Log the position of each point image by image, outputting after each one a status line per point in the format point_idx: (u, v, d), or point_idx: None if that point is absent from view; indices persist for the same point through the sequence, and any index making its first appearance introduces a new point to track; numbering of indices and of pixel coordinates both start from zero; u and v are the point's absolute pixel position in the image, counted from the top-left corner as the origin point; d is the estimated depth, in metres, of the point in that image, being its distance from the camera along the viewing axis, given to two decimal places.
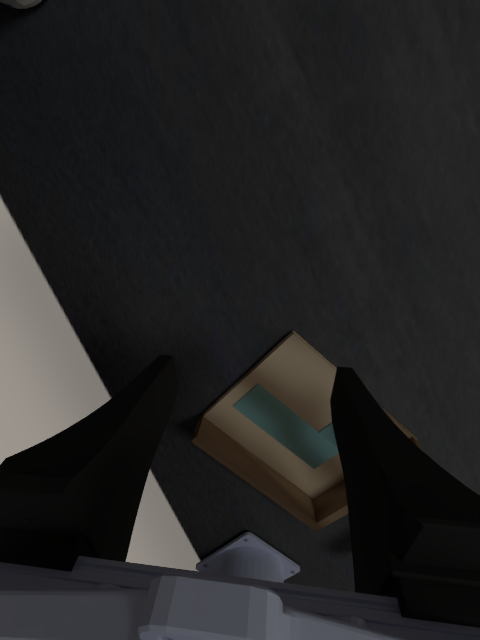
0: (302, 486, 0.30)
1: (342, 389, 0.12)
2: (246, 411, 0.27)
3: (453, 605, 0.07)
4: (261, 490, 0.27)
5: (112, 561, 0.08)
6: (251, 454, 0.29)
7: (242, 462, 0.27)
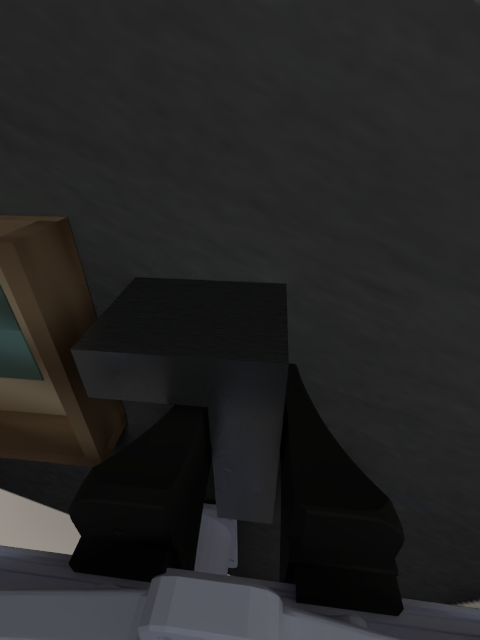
0: None
1: None
2: None
3: (342, 591, 0.07)
4: None
5: None
6: None
7: None
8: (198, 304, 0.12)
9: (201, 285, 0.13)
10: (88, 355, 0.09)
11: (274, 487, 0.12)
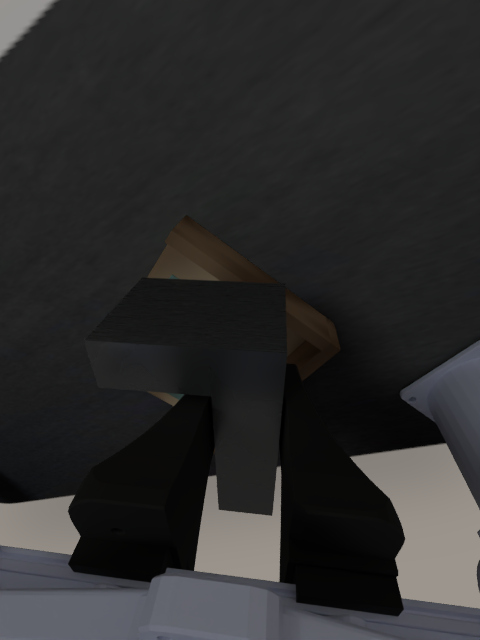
0: (295, 342, 0.22)
1: None
2: None
3: (342, 591, 0.07)
4: None
5: None
6: None
7: None
8: (202, 301, 0.12)
9: (204, 284, 0.14)
10: (100, 346, 0.10)
11: (274, 477, 0.13)
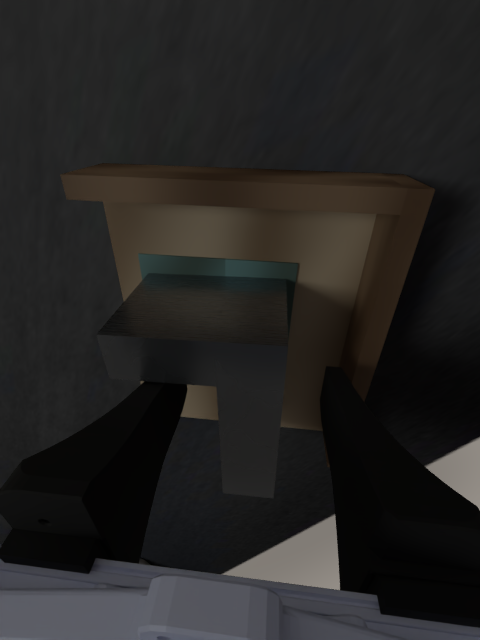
0: (359, 244, 0.13)
1: (330, 388, 0.12)
2: None
3: (431, 602, 0.07)
4: (373, 361, 0.13)
5: (112, 561, 0.08)
6: (340, 362, 0.16)
7: None
8: (207, 296, 0.13)
9: (208, 279, 0.14)
10: (111, 340, 0.11)
11: (275, 462, 0.13)
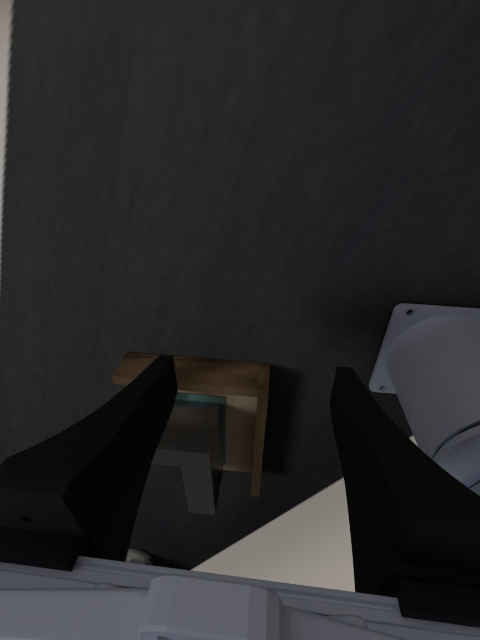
0: None
1: (342, 389, 0.12)
2: None
3: (453, 605, 0.07)
4: (261, 448, 0.27)
5: (112, 561, 0.08)
6: None
7: None
8: (178, 418, 0.26)
9: (180, 403, 0.28)
10: None
11: (212, 498, 0.27)
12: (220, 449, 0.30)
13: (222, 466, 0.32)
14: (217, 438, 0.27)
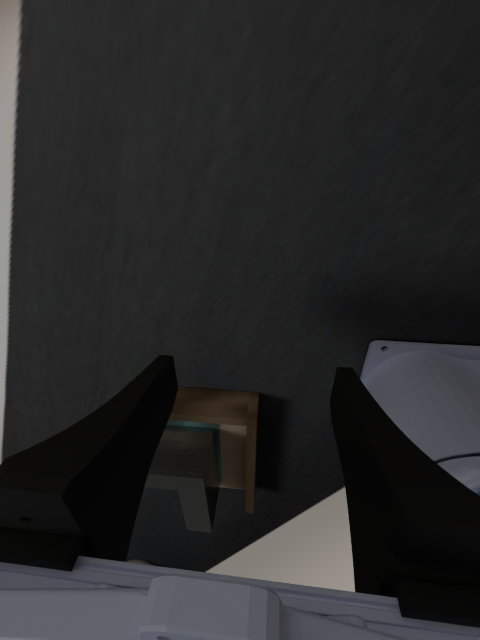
0: None
1: (342, 389, 0.12)
2: None
3: (453, 605, 0.07)
4: (252, 470, 0.29)
5: (112, 561, 0.08)
6: None
7: None
8: (175, 444, 0.28)
9: (177, 429, 0.30)
10: None
11: (208, 517, 0.29)
12: (215, 470, 0.32)
13: (218, 485, 0.34)
14: (212, 461, 0.29)
